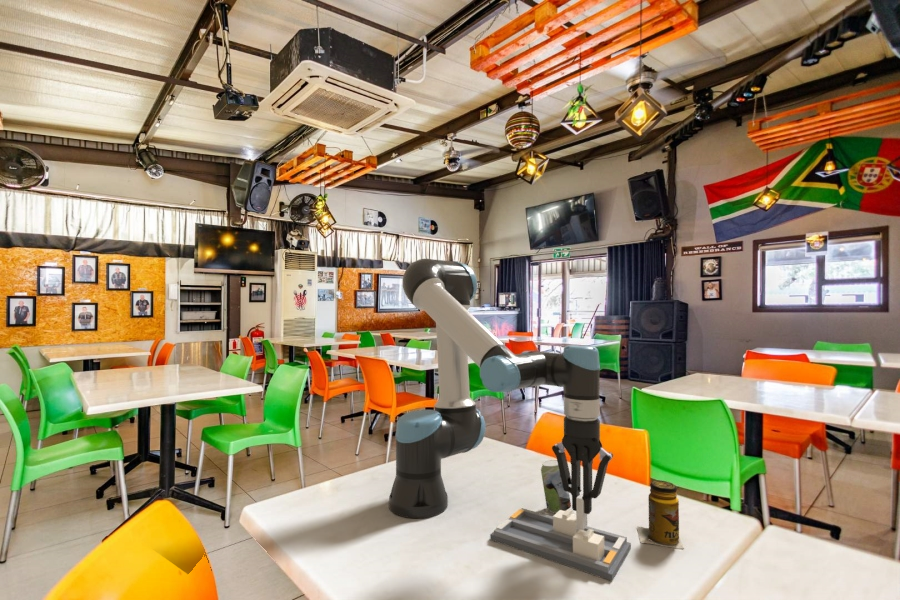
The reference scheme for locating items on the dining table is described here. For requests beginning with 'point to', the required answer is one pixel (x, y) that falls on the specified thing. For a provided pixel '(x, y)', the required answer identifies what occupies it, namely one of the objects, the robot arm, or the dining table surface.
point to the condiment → (662, 516)
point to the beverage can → (554, 487)
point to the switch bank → (559, 543)
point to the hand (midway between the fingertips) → (581, 526)
